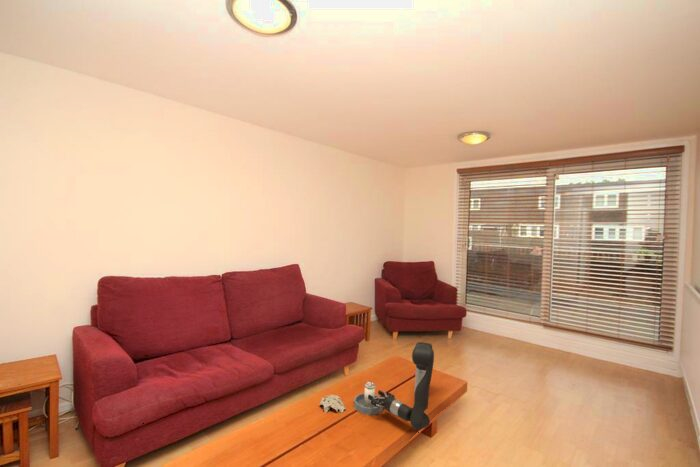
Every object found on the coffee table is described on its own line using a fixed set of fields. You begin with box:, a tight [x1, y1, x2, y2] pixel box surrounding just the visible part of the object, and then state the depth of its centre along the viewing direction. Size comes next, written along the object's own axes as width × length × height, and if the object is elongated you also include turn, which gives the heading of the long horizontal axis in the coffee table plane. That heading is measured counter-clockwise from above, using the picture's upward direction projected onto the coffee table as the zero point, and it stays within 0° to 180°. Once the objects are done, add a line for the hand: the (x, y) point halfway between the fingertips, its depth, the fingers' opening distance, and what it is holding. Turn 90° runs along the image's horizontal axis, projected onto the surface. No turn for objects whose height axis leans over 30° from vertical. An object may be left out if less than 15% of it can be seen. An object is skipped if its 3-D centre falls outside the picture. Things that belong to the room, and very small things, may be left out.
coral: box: [318, 394, 347, 413], centre depth 191 cm, size 15×12×5 cm
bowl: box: [353, 392, 384, 416], centre depth 194 cm, size 17×17×4 cm
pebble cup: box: [364, 381, 376, 408], centre depth 194 cm, size 6×6×14 cm
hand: (373, 394), depth 191 cm, fingers open, 8 cm apart
